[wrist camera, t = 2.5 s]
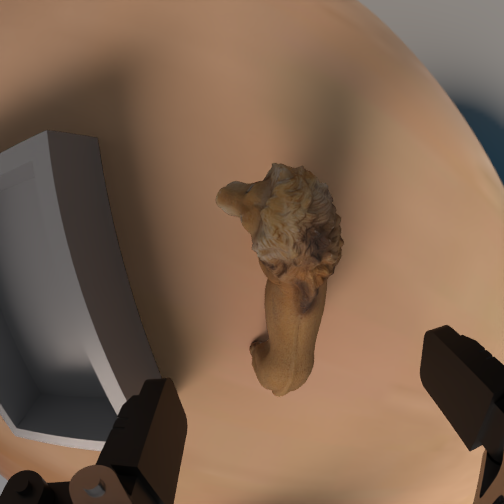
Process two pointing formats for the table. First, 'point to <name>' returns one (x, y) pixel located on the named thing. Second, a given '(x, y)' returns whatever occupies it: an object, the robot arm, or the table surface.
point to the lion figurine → (288, 265)
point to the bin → (64, 297)
